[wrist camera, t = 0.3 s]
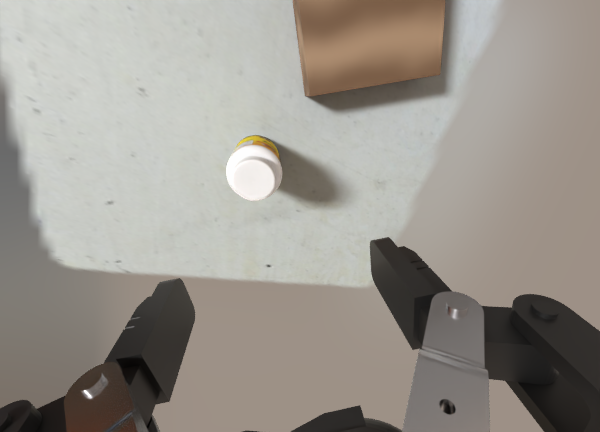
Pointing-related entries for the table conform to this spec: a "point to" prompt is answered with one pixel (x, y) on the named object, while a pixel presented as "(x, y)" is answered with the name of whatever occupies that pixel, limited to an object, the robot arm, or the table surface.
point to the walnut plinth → (367, 42)
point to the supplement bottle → (254, 168)
